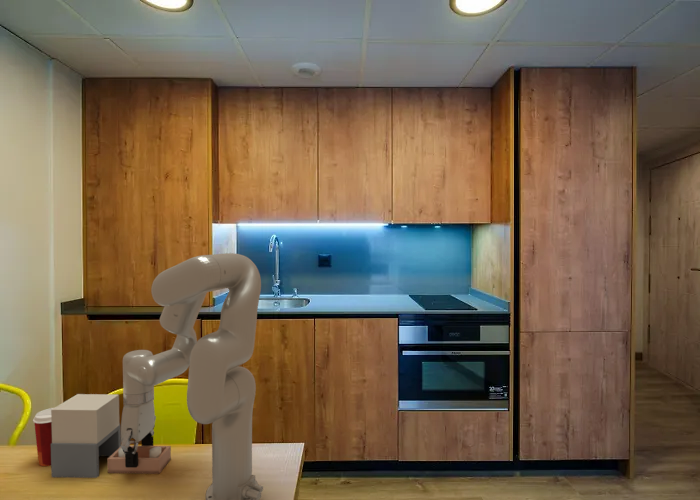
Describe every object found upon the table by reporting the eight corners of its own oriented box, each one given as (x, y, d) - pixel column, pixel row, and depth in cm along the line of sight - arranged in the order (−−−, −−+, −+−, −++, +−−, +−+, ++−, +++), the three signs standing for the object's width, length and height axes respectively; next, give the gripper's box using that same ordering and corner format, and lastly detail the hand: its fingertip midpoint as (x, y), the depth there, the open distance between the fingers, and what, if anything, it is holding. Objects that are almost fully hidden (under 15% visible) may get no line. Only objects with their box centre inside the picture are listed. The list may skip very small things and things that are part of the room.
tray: (170, 459, 118) (170, 443, 118) (159, 474, 111) (159, 456, 111) (122, 458, 118) (121, 442, 118) (107, 473, 111) (107, 455, 111)
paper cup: (74, 454, 120) (72, 407, 120) (52, 469, 113) (51, 419, 112) (49, 452, 121) (48, 405, 120) (26, 467, 113) (24, 417, 113)
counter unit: (120, 454, 120) (119, 393, 120) (96, 477, 109) (95, 411, 108) (80, 453, 120) (78, 393, 120) (51, 477, 109) (49, 410, 108)
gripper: (141, 384, 122) (142, 442, 123) (106, 409, 105) (108, 476, 106) (166, 384, 122) (167, 442, 123) (135, 409, 105) (137, 477, 106)
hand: (140, 457), depth 115 cm, fingers open, 7 cm apart
